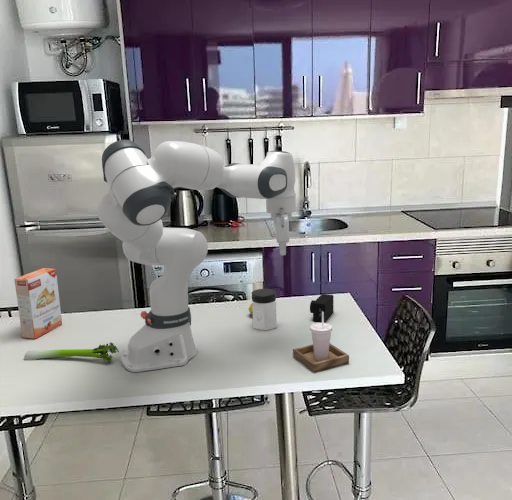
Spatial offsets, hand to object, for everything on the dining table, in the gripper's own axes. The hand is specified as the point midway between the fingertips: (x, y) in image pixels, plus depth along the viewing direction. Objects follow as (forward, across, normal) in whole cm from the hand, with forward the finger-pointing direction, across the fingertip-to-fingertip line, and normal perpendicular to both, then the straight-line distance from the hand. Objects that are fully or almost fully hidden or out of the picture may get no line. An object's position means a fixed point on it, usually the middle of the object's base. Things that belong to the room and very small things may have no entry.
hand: (282, 250), depth 162 cm
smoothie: (+29, -15, -10) cm, 34 cm away
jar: (+29, +13, +6) cm, 32 cm away
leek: (+30, -10, +64) cm, 72 cm away
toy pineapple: (+29, +24, +8) cm, 39 cm away
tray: (+29, -15, -10) cm, 34 cm away
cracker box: (+29, +14, +83) cm, 89 cm away
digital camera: (+29, +19, -14) cm, 38 cm away
